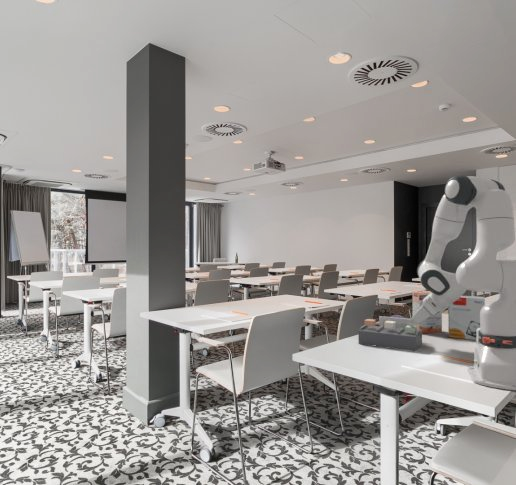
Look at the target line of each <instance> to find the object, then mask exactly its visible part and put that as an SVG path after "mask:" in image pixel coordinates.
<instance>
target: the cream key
mask: <svg viewBox="0 0 516 485" xmlns="http://www.w3.org/2000/svg"><path fill="white" fill-rule="evenodd" d="M395 327H396V322H395V321H385V322H384V328H390V329H394V328H395Z"/></svg>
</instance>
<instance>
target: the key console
mask: <svg viewBox="0 0 516 485" xmlns="http://www.w3.org/2000/svg"><path fill="white" fill-rule="evenodd" d="M378 321H379V322H378V325H375V326H373V327H371V326H364V325H362V326H361V327H360V328H359V329H358V344H359V345H364V344H367V346H371V345H376V346H375V347H379V346H382V347H381V348H387V347H389V348H388V349H394V348H395V350H402V351H409V352H410V351H411V352H417V351H418V350H419V349H420V347H422V345H423V333H422V331H421V329H419V330H418V331H417V332H416V333H415V334H411V333H405V327H406V326H407V325H408V323H410V322H411V321H412V320H411V318H405V317H404V318H394V317H391V316H380V315H379V317H378ZM385 321H395V322H396V327H395V328H394V329H390V328H384V322H385ZM408 326H409V325H408ZM413 326H414V325H413Z"/></svg>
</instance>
